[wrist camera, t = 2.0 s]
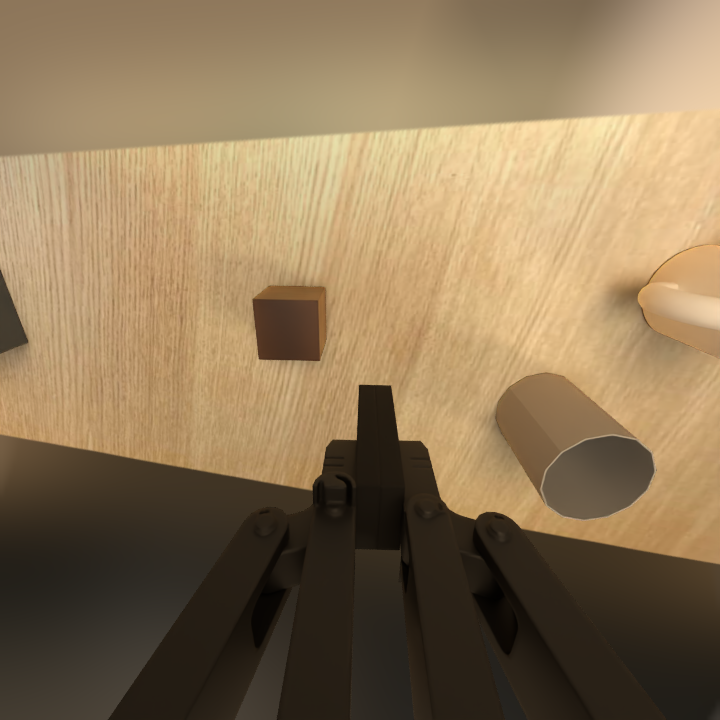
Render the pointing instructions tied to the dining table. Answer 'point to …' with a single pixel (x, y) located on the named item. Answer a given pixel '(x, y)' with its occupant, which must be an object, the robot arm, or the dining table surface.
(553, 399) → the cup
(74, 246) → the dining table surface
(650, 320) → the mug
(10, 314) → the slate block
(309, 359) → the walnut block
